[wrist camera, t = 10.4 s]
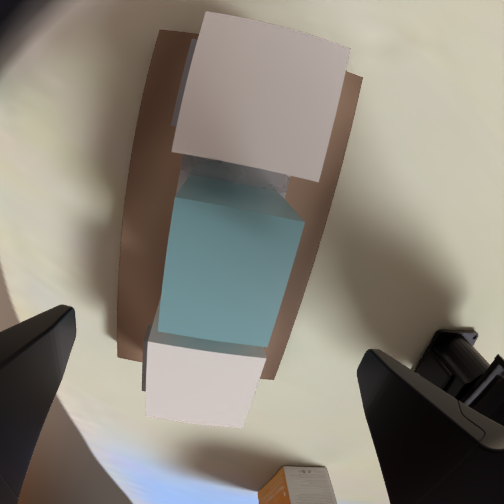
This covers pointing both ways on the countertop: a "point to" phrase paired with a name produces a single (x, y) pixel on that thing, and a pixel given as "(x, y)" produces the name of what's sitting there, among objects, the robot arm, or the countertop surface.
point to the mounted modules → (249, 154)
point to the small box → (298, 487)
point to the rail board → (164, 191)
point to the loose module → (227, 261)
